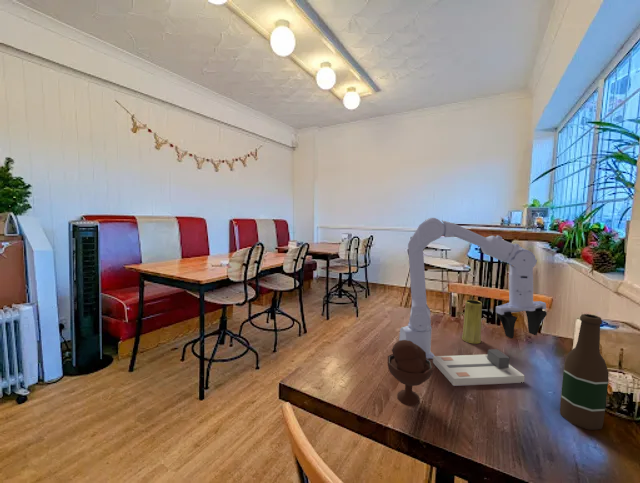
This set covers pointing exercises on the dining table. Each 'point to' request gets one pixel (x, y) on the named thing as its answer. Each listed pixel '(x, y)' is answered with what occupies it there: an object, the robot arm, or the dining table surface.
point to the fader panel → (475, 370)
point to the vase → (472, 322)
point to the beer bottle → (585, 378)
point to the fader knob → (498, 358)
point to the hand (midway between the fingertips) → (521, 335)
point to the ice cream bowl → (409, 369)
